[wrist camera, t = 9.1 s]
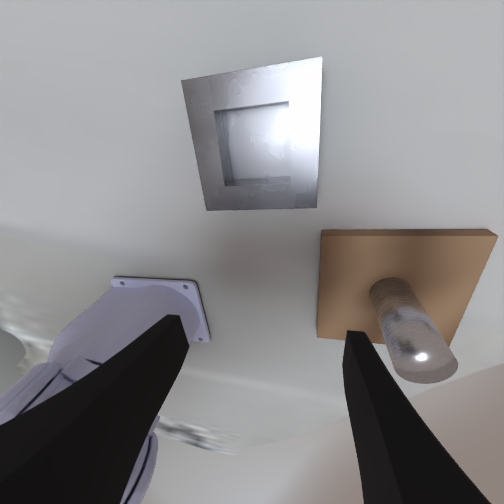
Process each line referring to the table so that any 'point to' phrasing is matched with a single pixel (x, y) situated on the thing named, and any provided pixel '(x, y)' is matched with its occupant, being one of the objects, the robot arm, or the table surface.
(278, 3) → the table surface
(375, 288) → the silver metal cylinder
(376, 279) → the pad
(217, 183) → the chuck block
